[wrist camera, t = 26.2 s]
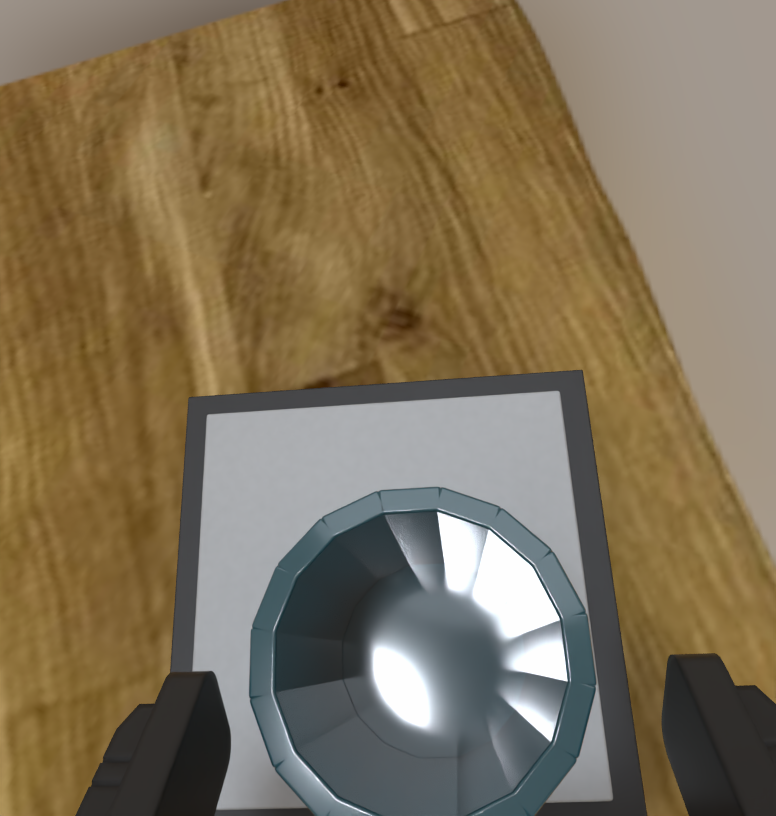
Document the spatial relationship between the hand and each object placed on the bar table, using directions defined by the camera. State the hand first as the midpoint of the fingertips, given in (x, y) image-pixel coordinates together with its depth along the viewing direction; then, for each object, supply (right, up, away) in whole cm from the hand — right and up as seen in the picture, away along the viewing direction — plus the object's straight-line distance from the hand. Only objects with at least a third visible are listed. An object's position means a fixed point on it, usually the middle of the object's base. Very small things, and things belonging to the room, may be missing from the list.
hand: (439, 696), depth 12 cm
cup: (0, -2, +8) cm, 8 cm away
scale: (-1, -1, +12) cm, 12 cm away
